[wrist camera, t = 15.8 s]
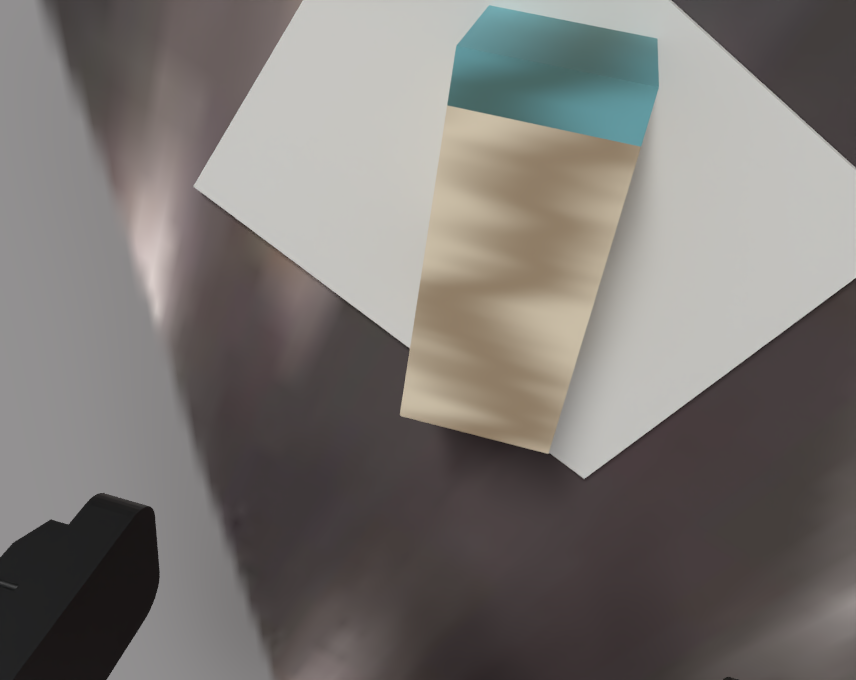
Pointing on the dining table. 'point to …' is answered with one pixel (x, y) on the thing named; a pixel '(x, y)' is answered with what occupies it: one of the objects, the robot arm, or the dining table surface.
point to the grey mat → (638, 224)
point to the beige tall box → (523, 218)
